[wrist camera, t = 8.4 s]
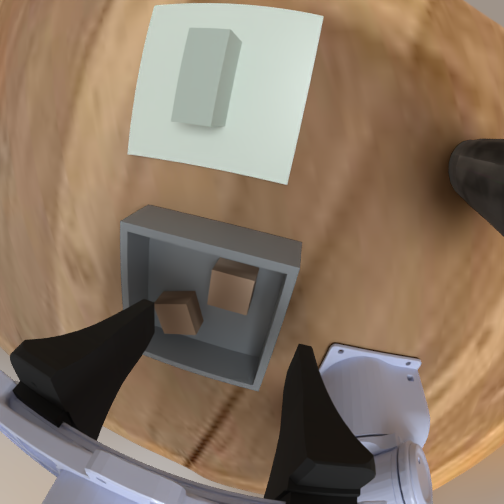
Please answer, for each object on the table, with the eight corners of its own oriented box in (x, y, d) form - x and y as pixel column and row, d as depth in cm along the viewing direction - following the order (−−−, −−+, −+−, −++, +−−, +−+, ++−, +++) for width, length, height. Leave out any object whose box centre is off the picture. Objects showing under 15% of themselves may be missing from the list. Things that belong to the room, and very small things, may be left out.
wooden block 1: (195, 290, 24) (186, 304, 22) (203, 320, 25) (196, 335, 23) (163, 291, 24) (153, 304, 23) (173, 319, 26) (164, 333, 24)
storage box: (301, 242, 21) (300, 268, 17) (265, 359, 26) (258, 391, 23) (148, 204, 22) (120, 221, 18) (146, 322, 27) (127, 348, 24)
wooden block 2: (259, 267, 22) (254, 281, 20) (251, 300, 23) (246, 315, 21) (220, 257, 22) (212, 269, 20) (214, 290, 23) (207, 304, 21)
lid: (322, 20, 15) (325, -1, 11) (288, 182, 20) (283, 195, 16) (160, 9, 16) (133, -7, 12) (134, 152, 21) (104, 160, 17)
